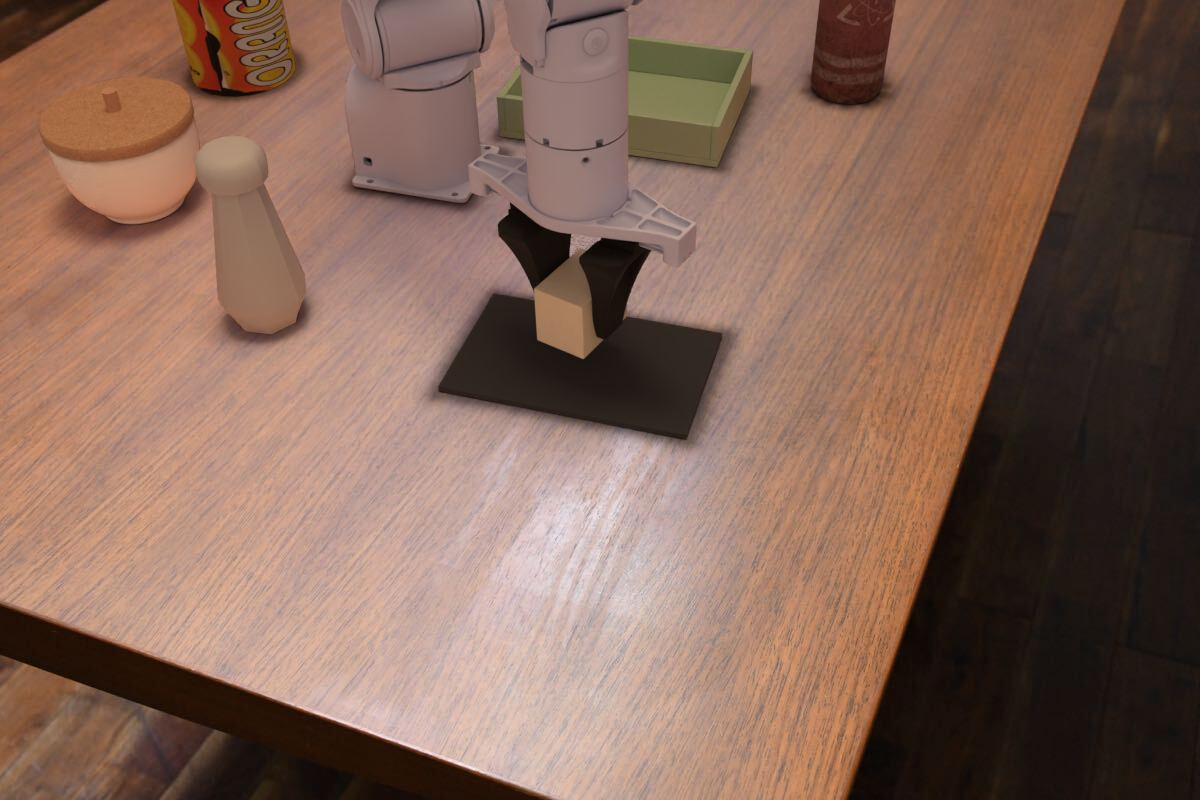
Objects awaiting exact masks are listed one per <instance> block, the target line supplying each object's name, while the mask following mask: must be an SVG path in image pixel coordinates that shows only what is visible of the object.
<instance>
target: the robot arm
mask: <svg viewBox="0 0 1200 800" xmlns="http://www.w3.org/2000/svg"><path fill="white" fill-rule="evenodd" d="M643 1H644V0H503V3H504V7H505V13H506V22H507V23H506V24H507V34H508V35H509V37H510V39H509V40H510V44H511V47H512V48H513V49H514V50H515V51H516V52H517V53H518V54H519V65H520V69H521V84H522V100H523V116H524V132H525V140H524V147H525V157H516V156H509V155H504V154H501V149H500V147H499V146H497V145H491V144H483V143H481V138H480V127H479V118H478V117H479V116H478V107H477V95H476V84H475V83H476V82H475V73H474V70H476V69H480V68H481V67H482V65H481V62H482V61H481V54H484V53H486V52H487V51H489V49H490V47H491V44H492V41H494V36H495V32H496V31H495V30H496V22H495V12H494V8H493V3H492V0H341V3H340V13H341V21H342V26H343V31H344V35H345V39H346V42H347V46H348V49H349V51H350V54H351V56H352V59H353V61H354V63H353V65H352V67H351V68H350V70H349V73H348V74H347V78H346V83H345V88H344V112H345V119H346V124H347V131H348V138H349V142H350V147H351V154H352V159H353V165H354V170H355V175H354V176H353V177H352V179H351V182H352V186H354V187H355V188H356V187H357V188H362V189H368V190H375V191H381V192H387V193H393V194H401V195H405V196H412V197H419V198H425V199H430V200H437V201H444V202H451V203H457V204H464V203H467V202H468V200H469V199H470V198H471V196H472V195H473V194H474V195H476V196H479V197H482V198H483V197H487V196H489V195H490V194H494V195H496V196H499V197H503V198H504V199H505V200H507V201H508V203H509V208H508V210H507V214H506V215H505V216H504V217H503V218H502V219H500V220H499V221H498V223H497V234H498V237H499V239H501V240H502V242H504V244H505V245H506V246H507V248H508V249H509V250H510V251H511V252H512V254H513V255H514V257H515V258H516V260H517V262H518V263H519V264H520V267H521V268H522V269H523V272H524V274H525V276H526V278H527V280H528V282H529V285H530V287H531V289H532V292H533V293H534V288H535V287H537V286H538V285H539V284H540V283H541V282H542V281H543V280H545V279H546V278H547V277H548V276H549V275H550V274H551V273H552V272H554V271H555V270H556V269H557V268H558V267H559V266H560V265H561V264H563V263H564V262H565V261H566V260H567V259H568V258H569V257H571V242H572V235H576V236H577V235H578V236H584V237H585V236H586V237H593V238H600V239H599V240H596V241H595V242H594V243H593V244H592V245H591V246H589V248H587V249H586V250H587V251H585V252H584V253H583V254H582V255H581V256H580V257H579V263H580V265H581V267H582V269H583V271H584V273H585V275H586V278H587V281H588V284H589V288H590V293H591V298H592V315H593V325H594V330H595V333H596V337H598V338H601V339H603V340H606V339H607V338H608V337H609V336H610V335H611V334H612V333H613V332H614V331H615V330H616V329H617V328H618V327H619V326H620V325H622V322H623V317H624V313H625V309H626V305H627V306H628V302H629V298H630V295H631V293H632V290H633V287H634V285H635V282H636V280H637V278H638V276H639V273H640V271H641V270H642V268H643V266H644V264H645V262H646V260H647V259H648V257H649V255H650V254H651V253H652V252H655V253H658V254H660V255H662V262H663V263H664V264H666V265H669V266H671V267H674V268H680V267H681V266H682V265H683V264H684V263H685V262H687V260H688V259H689V258H690V257H691V256H692V255H693V254H694V252H696V249H697V244H696V243H697V227H698V225H697V222H695V221H694V220H691V219H688V218H686V217H683V216H681V215H679V214H677V213H676V212H674V211H673V210H671V209H669V208H668V207H666V206H665V205H663V204H662V203H661V202H659V201H658V200H656V199H655V198H653V197H652V196H651V195H649V194H648V193H646V191H645V192H644V191H643V190H642V189H641V188H640V187H638V186H636V185H634V184H633V183H632V182H630V181H629V155H628V35H629V12H628V11H627V10H626V9H628V8H630V7H631V6H638V5H640V4H641V3H643Z"/></svg>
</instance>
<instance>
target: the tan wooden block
mask: <svg viewBox="0 0 1200 800" xmlns="http://www.w3.org/2000/svg"><path fill="white" fill-rule="evenodd" d="M587 250H588V249H584V248H581V247H579V248H578V249H577V250H576V251H574V253H573V254H572V255H570V257H569V258H568V259H567V260H566V261H565V262H564V263H563V264H561V265H560V266H559V267H558V268H557V269H556V270H555V271H554V272H552V273H551V274H550V275H549V276H548V277H547V278H546V279H545V280H543V281H542V282H541V283H540V284H539V285H538V286H537V287H535V288H534V292H533V297H534V300H535V313H536V329H537V340H538V341H541V342H543V343H546V344H548V345H550V346H553V347H555V348H558V349H560V350H563V351H565V352H567V353H570V354H572V355H575V356H577V357H579V358H582V359H584V358H585V357H586V356H587V355H588V354H589V353H590V352H591V351H592V350H593V349H594V348H595V347H596V346H597V345H599V344H600V343H601V342H602V341H603V339H601V338H598V337H596V333H595V330H594V325H593V315H592V298H591V293H590V288H589V284H588V281H587V278H586V275H585V273H584V271H583V269H582V267H581V265H580V263H579V257H580V256H581V255H582V254H583V253H584V252H585V251H587ZM626 317H628V304H627V305H626V309H625V313H624V317H623V320H624V319H625V318H626Z"/></svg>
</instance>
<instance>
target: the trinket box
mask: <svg viewBox="0 0 1200 800" xmlns="http://www.w3.org/2000/svg"><path fill="white" fill-rule="evenodd" d="M37 130H38V134H39V136H40V139H41V141H42V143H43V145H44V147H45V148H46V150H47V152H48V155H49V157H50V159H51V162H52V164H53V166H54V169H55V170H56V173H57V175H58V176H59V178H60V180H61V182H62V183H63V184H64V186H65V187H66V189H67V190H68V191H69V192H70V193H71V194H72V196H74V197H75V198H76V200H77V201H79V202H80V203H81V204H83V205H84V206H85V207H87V208H88V209H89V210H92V211H93V212H96V213H98V214H100V215H102V216H105V217H106V219H108V220H110V221H112V222H114V223H118V224H123V225H141V224H142V225H143V224H148V223H151V222H156V221H159V220H162V219H163V218H167V216H170V215H172V214H173V213H175V212H176V211H178V209H179V208H180V207H181V206H182V205H183V203H184V201H185V198H186V196H187V195H188V193H189V192H190V191H191V189H192V187H193V186H194V185H195V182H196V180H197V175H196V168H195V155H196V154H197V153H198V152H199V150H200V149H201V143H200V135H199V130H198V126H197V121H196V118H195V108H194V105H193V100H192V97H191V96H190V94H189V92H188V91H187V90H186V89H185V88H183V86H180V85H179V84H176V82H172V81H170V80H167V79H162V78H157V77H151V76H125V77H117V78H111V79H104V80H101V81H100V80H99V81H97V82H93V83H90V84H86V85H84V86H80V87H78V88H75V89H74V90H71V91H69V92H67V93H65V94H63V95H61V96H60V97H58V98H57V99H54V101H53V102H51V103H50V104H49V105H48V106H47V107H46V108H45V109H44V110H43V112H42V113H41V115H40V117H39V120H38V123H37Z"/></svg>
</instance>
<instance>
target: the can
mask: <svg viewBox="0 0 1200 800" xmlns="http://www.w3.org/2000/svg"><path fill="white" fill-rule="evenodd" d="M896 2H897V1H896V0H819V2H818V10H817V20H816V27H815V28H816V29H815V38H814V39H815V40H814V45H813V55H812V63H811V72H810V83H811V85H812V88H813V90H814V92H815V93H816V94H817V95H818V96H819V97H820V98H822V99H825V100H827V101H829V102H834V103H837V104H847V105H852V104H861V103H865V102H868V101H871V100H872V99H874V98H875V97H876V96H877V95H878V94H879V92H880V91H881V90H882V89H883V84H884V77H885V72H886V65H887V59H888V52H889V45H890V39H891V35H892V34H891V33H892V26H893V20H894V13H895V9H896V8H895V7H896Z"/></svg>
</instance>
